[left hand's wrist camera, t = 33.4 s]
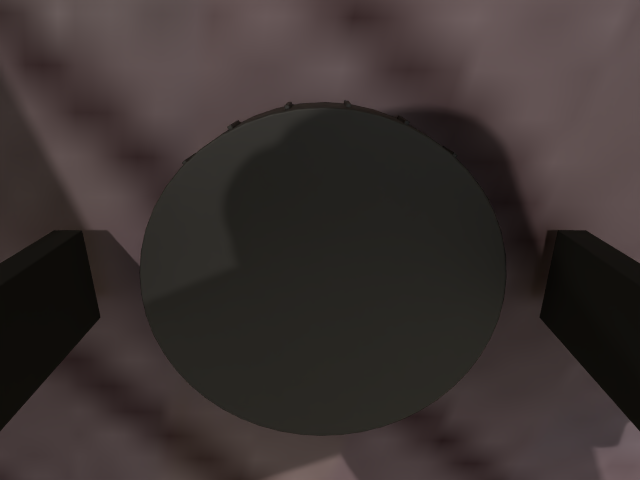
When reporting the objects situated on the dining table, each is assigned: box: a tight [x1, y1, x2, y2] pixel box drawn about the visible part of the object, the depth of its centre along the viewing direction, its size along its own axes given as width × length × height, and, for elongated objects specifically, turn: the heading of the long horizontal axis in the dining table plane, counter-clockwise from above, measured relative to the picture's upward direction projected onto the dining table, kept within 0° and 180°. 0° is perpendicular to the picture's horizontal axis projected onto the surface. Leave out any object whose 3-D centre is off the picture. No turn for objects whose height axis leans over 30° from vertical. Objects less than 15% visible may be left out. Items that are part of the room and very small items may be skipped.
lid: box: [140, 100, 506, 436], centre depth 12 cm, size 10×10×2 cm
